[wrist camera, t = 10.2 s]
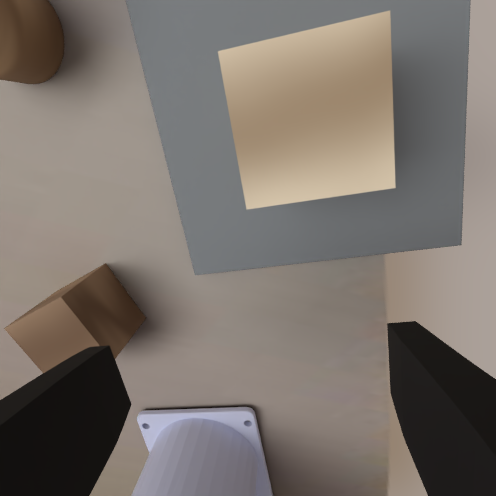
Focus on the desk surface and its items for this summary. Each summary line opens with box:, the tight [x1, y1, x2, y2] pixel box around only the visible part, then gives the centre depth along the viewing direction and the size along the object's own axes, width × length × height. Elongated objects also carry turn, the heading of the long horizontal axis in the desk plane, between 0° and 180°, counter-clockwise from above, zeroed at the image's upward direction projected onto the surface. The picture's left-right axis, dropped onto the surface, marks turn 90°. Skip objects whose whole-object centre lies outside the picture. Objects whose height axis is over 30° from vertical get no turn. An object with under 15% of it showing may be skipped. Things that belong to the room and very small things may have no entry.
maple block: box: [218, 11, 396, 209], centre depth 12 cm, size 4×4×6 cm
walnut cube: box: [4, 264, 146, 373], centre depth 18 cm, size 4×4×4 cm
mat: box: [126, 0, 470, 275], centre depth 15 cm, size 13×13×1 cm
